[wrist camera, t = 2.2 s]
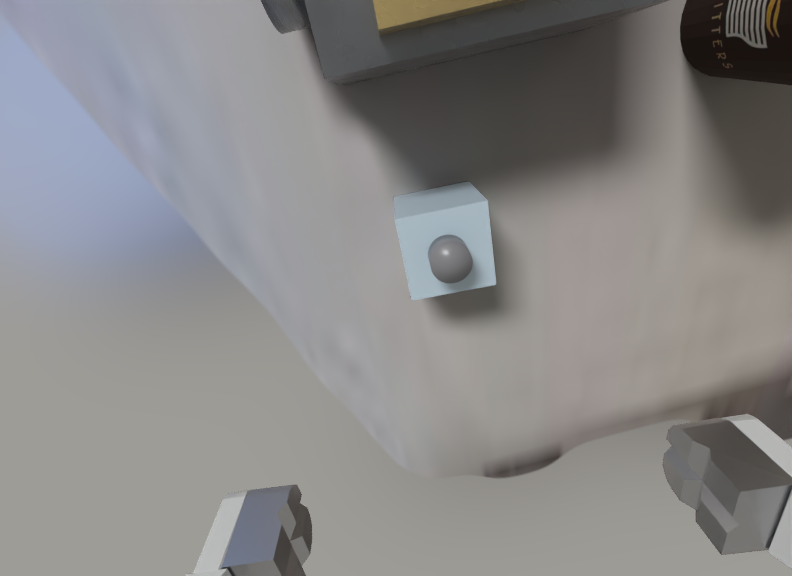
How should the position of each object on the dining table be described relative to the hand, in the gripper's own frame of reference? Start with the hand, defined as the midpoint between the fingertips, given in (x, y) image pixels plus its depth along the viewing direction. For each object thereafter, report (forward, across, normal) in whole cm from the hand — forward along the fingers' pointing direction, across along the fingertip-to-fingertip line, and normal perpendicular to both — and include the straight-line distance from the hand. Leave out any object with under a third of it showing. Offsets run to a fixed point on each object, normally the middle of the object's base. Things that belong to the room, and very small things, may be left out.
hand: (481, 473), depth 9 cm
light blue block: (+20, -2, 0) cm, 20 cm away
